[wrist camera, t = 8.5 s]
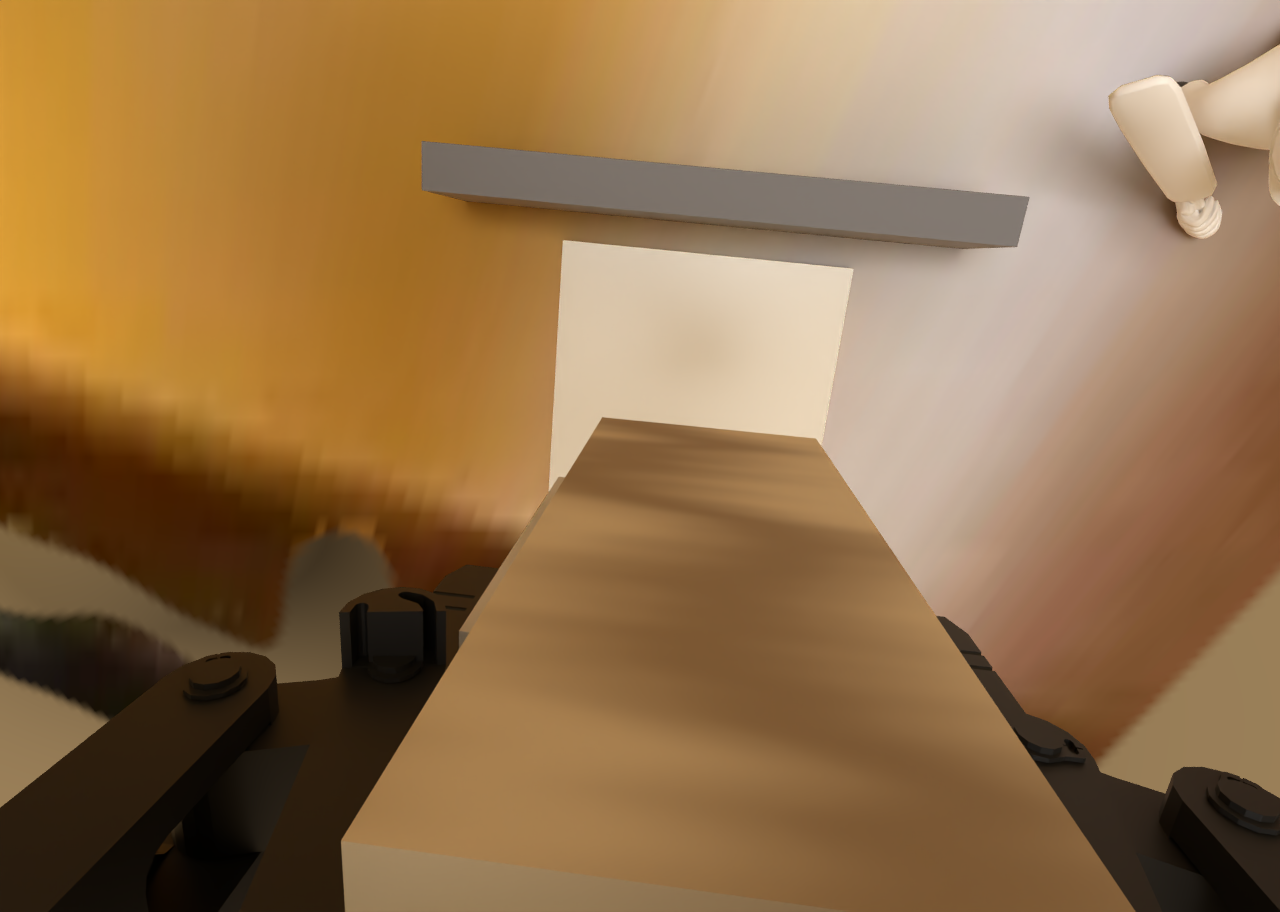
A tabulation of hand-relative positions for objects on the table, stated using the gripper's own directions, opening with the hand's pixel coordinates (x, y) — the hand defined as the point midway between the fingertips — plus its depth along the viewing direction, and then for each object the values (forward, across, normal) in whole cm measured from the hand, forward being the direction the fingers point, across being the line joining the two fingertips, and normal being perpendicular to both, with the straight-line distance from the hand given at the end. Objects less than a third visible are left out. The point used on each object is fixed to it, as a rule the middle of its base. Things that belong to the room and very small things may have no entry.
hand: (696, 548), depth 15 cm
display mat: (+23, 0, -1) cm, 23 cm away
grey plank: (+23, 0, +9) cm, 25 cm away
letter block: (+1, 0, 0) cm, 1 cm away
